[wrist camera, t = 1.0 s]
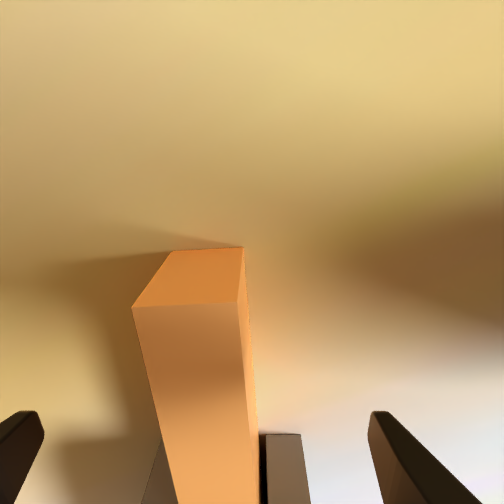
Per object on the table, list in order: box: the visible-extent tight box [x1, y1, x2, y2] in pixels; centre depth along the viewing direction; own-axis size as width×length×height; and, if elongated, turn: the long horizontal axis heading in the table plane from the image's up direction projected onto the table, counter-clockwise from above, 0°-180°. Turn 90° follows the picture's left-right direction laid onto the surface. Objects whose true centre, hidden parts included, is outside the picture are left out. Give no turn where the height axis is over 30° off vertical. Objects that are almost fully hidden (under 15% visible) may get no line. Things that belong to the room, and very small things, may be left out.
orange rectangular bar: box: [131, 247, 264, 504], centre depth 15 cm, size 20×3×5 cm, turn 4°
